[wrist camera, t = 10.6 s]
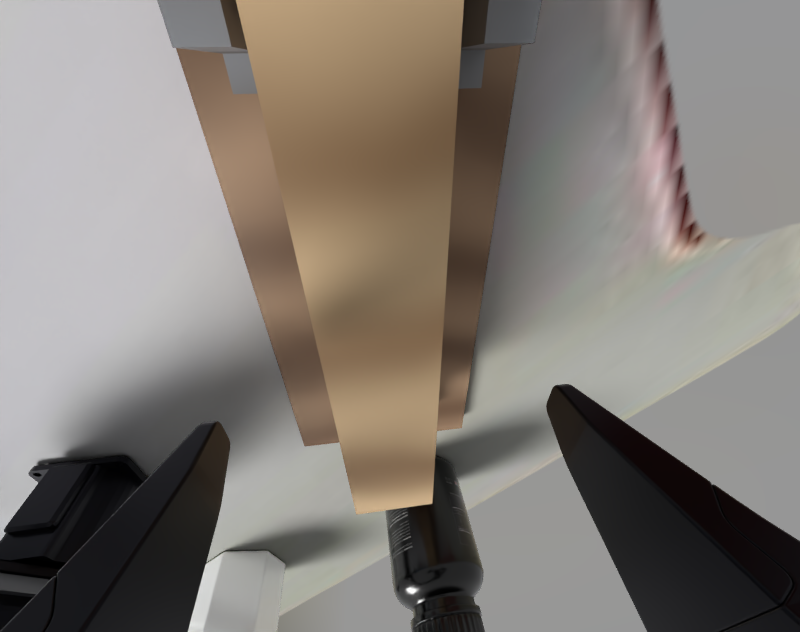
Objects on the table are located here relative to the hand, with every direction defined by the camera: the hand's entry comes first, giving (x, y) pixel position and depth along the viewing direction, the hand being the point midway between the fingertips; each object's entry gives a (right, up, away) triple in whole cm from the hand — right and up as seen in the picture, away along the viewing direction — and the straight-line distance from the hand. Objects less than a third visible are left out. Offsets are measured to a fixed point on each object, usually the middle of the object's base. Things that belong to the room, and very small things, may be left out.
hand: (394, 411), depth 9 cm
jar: (-18, -26, +30) cm, 43 cm away
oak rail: (-1, +4, +6) cm, 7 cm away
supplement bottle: (+2, -12, +22) cm, 26 cm away
